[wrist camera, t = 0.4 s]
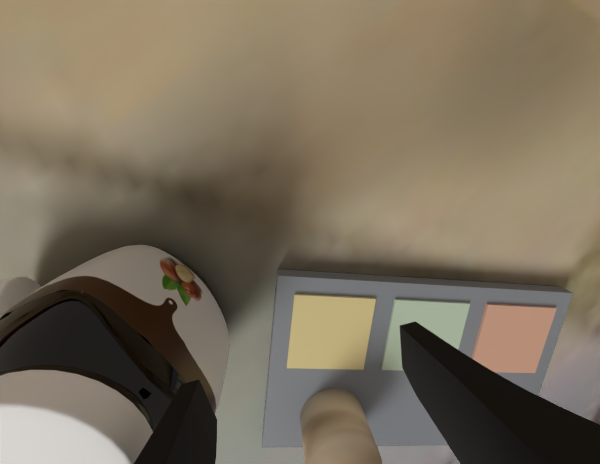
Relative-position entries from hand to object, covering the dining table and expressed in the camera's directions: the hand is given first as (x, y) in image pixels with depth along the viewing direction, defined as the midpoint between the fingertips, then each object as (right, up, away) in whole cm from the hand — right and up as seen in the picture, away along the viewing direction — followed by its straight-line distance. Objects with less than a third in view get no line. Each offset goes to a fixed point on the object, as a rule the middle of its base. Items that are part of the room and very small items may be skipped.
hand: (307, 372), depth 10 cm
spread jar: (-12, 0, +10) cm, 15 cm away
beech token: (+2, -9, +12) cm, 15 cm away
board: (+8, -5, +13) cm, 16 cm away
